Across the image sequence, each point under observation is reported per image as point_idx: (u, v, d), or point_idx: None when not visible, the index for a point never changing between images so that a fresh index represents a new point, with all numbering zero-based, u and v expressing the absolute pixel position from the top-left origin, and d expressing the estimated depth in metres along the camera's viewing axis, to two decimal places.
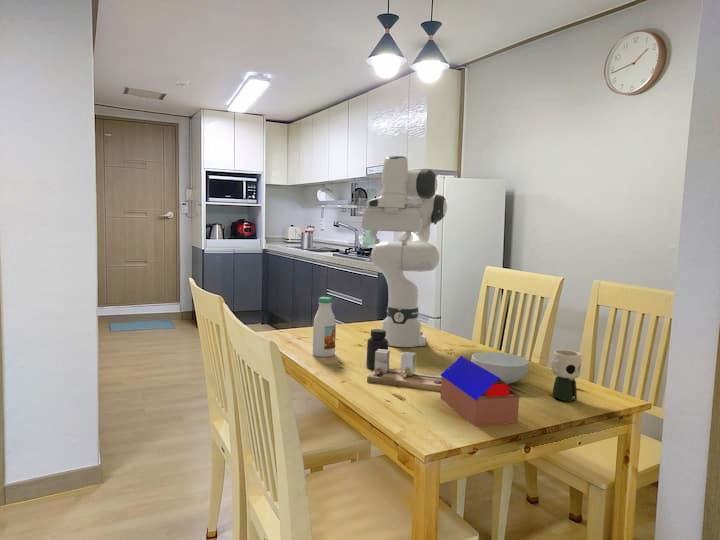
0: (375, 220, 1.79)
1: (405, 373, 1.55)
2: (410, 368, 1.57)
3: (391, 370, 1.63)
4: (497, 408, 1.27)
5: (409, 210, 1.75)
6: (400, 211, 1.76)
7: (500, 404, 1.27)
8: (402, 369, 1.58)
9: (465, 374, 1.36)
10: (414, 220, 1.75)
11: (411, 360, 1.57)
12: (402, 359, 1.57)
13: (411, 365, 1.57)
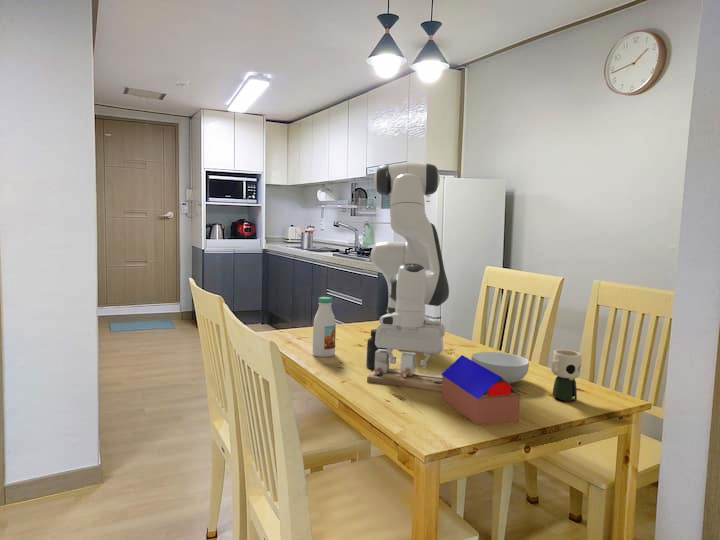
0: (390, 338, 1.58)
1: (405, 373, 1.55)
2: (410, 368, 1.57)
3: (391, 370, 1.63)
4: (499, 407, 1.27)
5: (429, 329, 1.54)
6: (418, 330, 1.55)
7: (502, 403, 1.27)
8: (402, 369, 1.58)
9: (466, 373, 1.37)
10: (434, 341, 1.54)
11: (411, 360, 1.57)
12: (402, 359, 1.57)
13: (411, 365, 1.57)
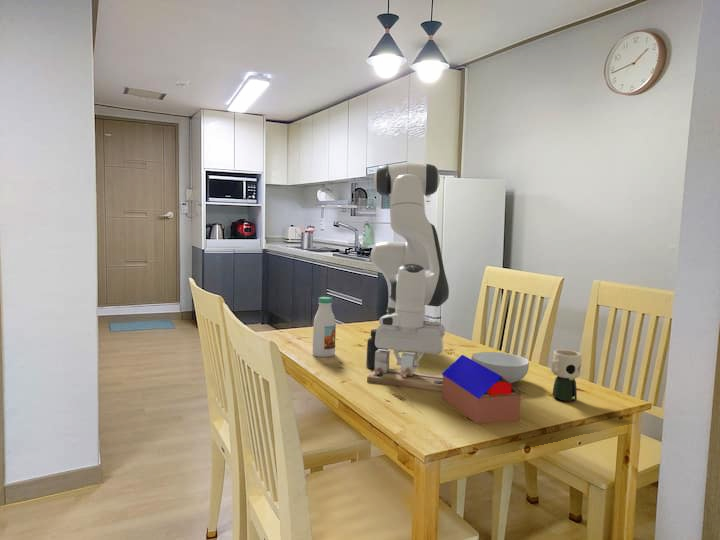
0: (390, 338, 1.58)
1: (405, 373, 1.55)
2: (410, 368, 1.57)
3: (391, 370, 1.63)
4: (499, 406, 1.28)
5: (429, 330, 1.54)
6: (418, 330, 1.55)
7: (502, 403, 1.28)
8: (402, 369, 1.58)
9: (467, 373, 1.37)
10: (434, 341, 1.54)
11: (411, 360, 1.57)
12: (402, 359, 1.57)
13: (411, 365, 1.57)
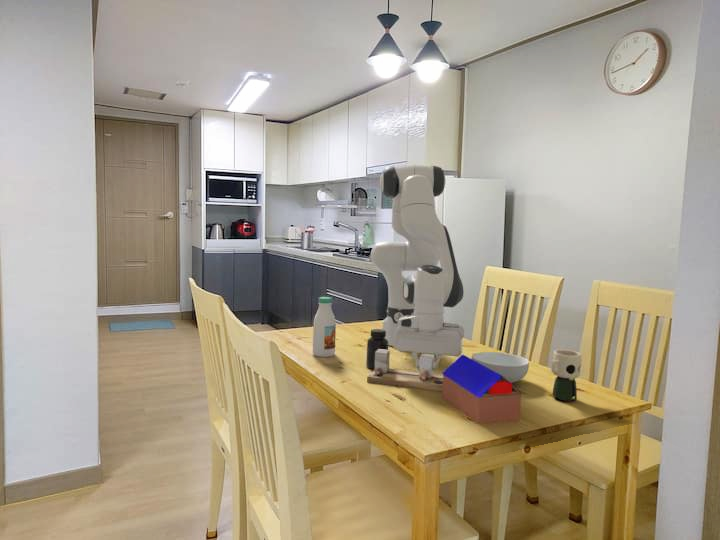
0: (409, 340, 1.56)
1: (424, 375, 1.53)
2: (429, 370, 1.55)
3: (391, 370, 1.63)
4: (500, 406, 1.28)
5: (448, 332, 1.52)
6: (437, 332, 1.53)
7: (503, 402, 1.28)
8: (421, 371, 1.56)
9: (467, 372, 1.37)
10: (454, 344, 1.52)
11: (430, 362, 1.55)
12: (421, 361, 1.56)
13: (430, 367, 1.55)
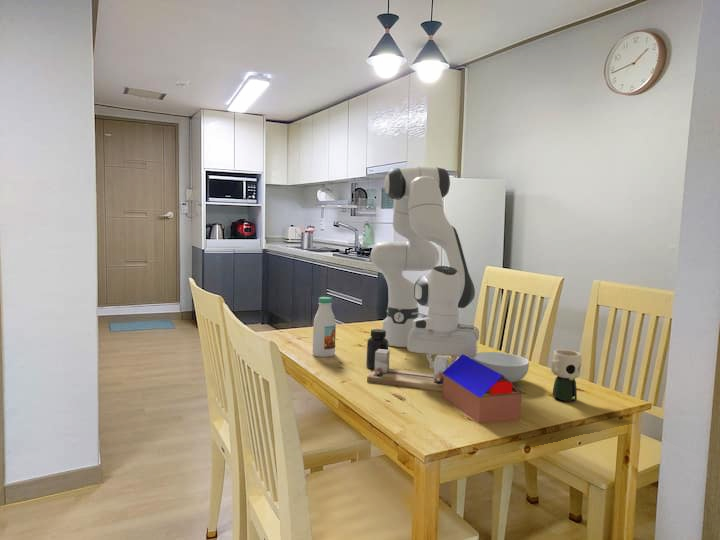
0: (423, 342, 1.55)
1: (439, 377, 1.52)
2: None
3: (391, 370, 1.63)
4: (500, 405, 1.29)
5: (463, 333, 1.51)
6: (452, 334, 1.52)
7: (503, 402, 1.29)
8: (435, 373, 1.55)
9: (467, 372, 1.38)
10: (469, 345, 1.51)
11: (445, 364, 1.54)
12: (435, 363, 1.54)
13: (445, 369, 1.54)
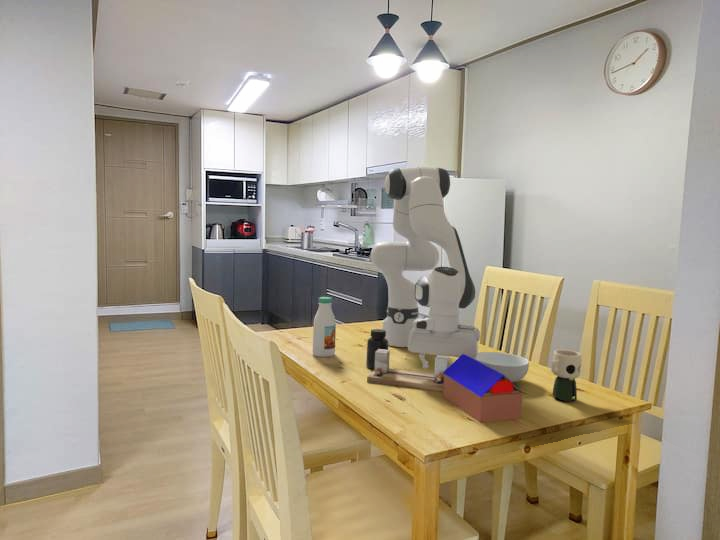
0: (424, 342, 1.55)
1: (440, 377, 1.52)
2: None
3: (391, 370, 1.63)
4: (501, 405, 1.29)
5: (464, 334, 1.51)
6: (453, 334, 1.52)
7: (504, 401, 1.29)
8: (436, 373, 1.55)
9: (468, 371, 1.38)
10: (469, 346, 1.51)
11: (445, 364, 1.54)
12: (436, 363, 1.54)
13: (445, 369, 1.54)
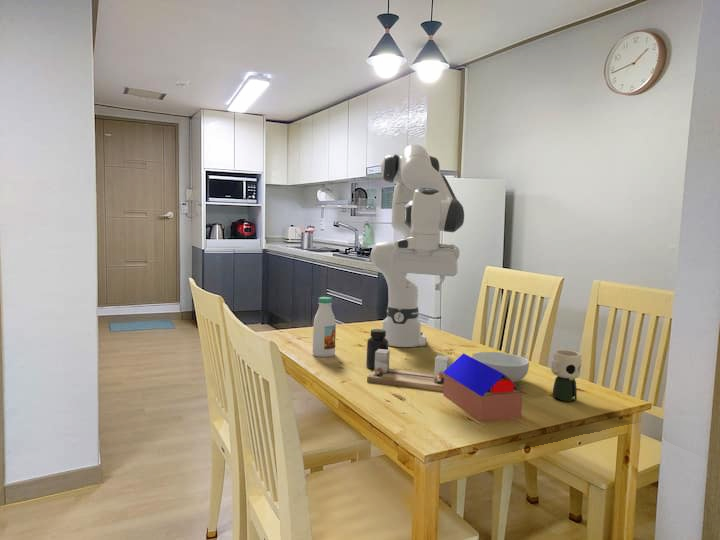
0: (405, 262, 1.59)
1: (440, 377, 1.52)
2: None
3: (391, 370, 1.63)
4: (502, 404, 1.30)
5: (444, 252, 1.56)
6: (433, 253, 1.57)
7: (505, 400, 1.30)
8: (436, 373, 1.55)
9: (469, 371, 1.39)
10: (449, 264, 1.56)
11: (445, 364, 1.54)
12: (436, 363, 1.54)
13: (445, 369, 1.54)
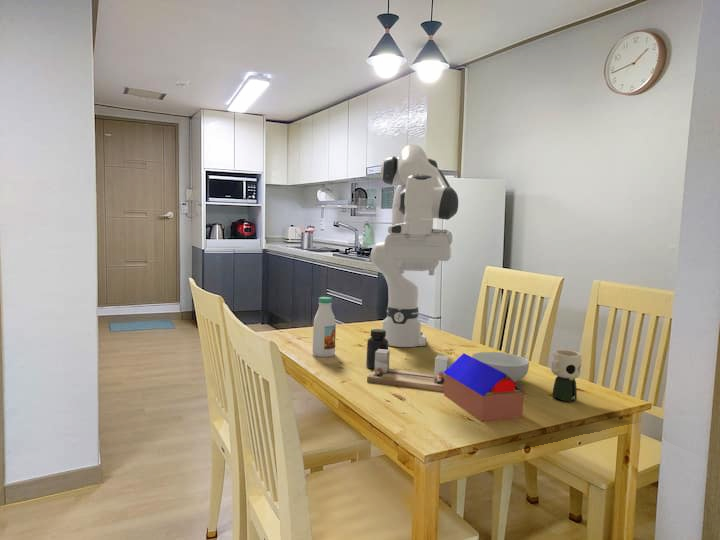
0: (399, 247, 1.61)
1: (440, 377, 1.52)
2: None
3: (391, 370, 1.63)
4: (503, 404, 1.30)
5: (437, 237, 1.57)
6: (426, 238, 1.58)
7: (506, 400, 1.30)
8: (436, 373, 1.55)
9: (469, 371, 1.39)
10: (442, 248, 1.57)
11: (445, 364, 1.54)
12: (436, 363, 1.54)
13: (445, 369, 1.54)
